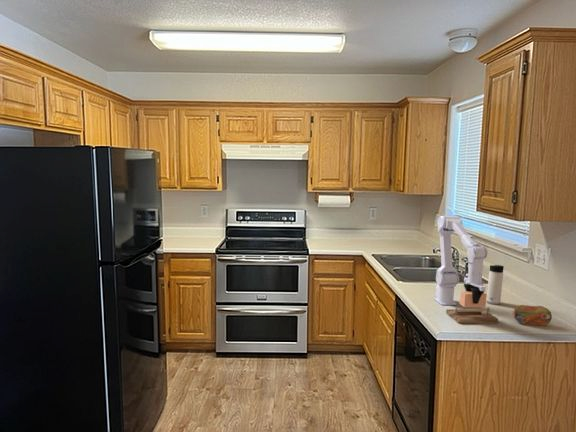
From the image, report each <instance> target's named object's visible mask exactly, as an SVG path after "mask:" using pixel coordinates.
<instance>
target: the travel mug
mask: <svg viewBox="0 0 576 432" xmlns="http://www.w3.org/2000/svg"><path fill="white" fill-rule="evenodd" d="M504 267H505V266H504V265H500V264H494V265H491V264H490V265H489V273H488V283H487V290H486V291H487V293H486V294H487V297H486V304H489V305H494V306H499V305H500V304H501V299H502V290H503V289H502V288H503V281H504V280H503V278H504Z"/></svg>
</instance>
